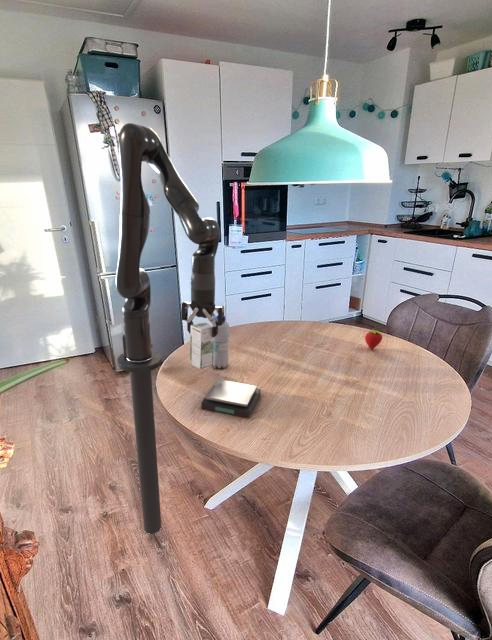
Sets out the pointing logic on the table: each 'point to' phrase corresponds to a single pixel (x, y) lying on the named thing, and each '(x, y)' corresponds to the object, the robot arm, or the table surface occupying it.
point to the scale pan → (232, 392)
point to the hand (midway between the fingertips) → (202, 334)
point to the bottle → (221, 346)
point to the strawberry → (373, 338)
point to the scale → (231, 406)
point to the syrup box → (201, 345)
